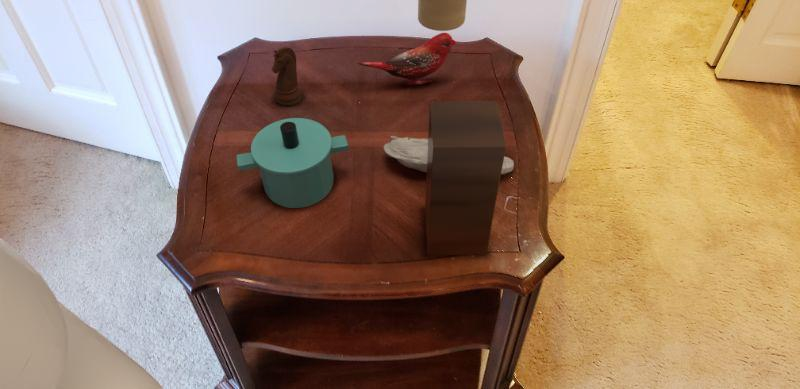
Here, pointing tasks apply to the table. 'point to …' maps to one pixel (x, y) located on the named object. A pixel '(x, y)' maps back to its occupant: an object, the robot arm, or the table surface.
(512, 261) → the table surface
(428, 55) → the decorative bird figurine
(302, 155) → the pot lid
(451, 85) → the table surface
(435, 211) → the pedestal
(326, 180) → the pot
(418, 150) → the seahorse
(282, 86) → the chess piece
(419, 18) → the cylinder
